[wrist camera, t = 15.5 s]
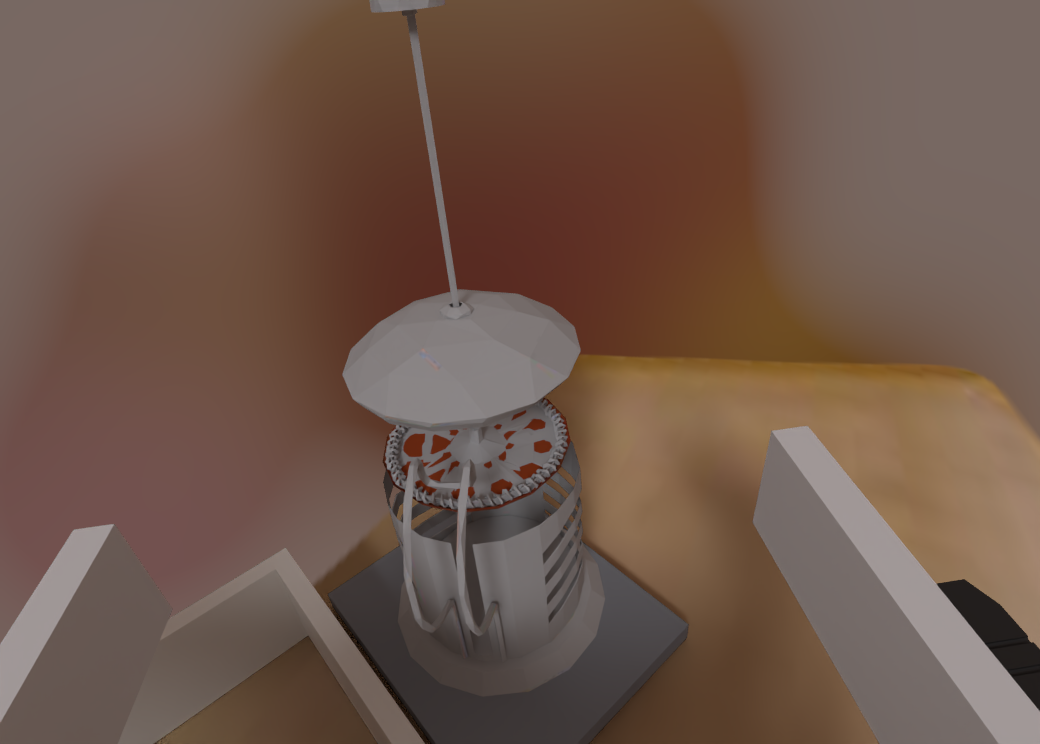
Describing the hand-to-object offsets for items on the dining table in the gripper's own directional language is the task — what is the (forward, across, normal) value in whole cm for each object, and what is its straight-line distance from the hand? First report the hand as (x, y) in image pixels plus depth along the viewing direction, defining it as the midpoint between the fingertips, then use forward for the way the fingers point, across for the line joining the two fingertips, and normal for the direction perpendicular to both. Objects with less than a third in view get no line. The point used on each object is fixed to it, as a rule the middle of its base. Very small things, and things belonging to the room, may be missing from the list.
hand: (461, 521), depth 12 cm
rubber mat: (+8, 0, -16) cm, 18 cm away
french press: (+8, 0, -15) cm, 17 cm away
